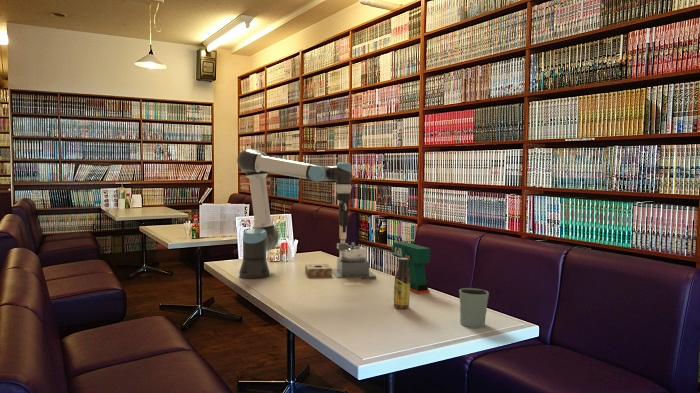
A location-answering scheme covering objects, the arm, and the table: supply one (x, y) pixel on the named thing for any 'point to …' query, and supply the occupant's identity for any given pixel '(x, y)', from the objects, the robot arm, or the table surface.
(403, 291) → the sauce bottle
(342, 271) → the stand
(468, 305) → the grey cup
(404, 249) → the power tool
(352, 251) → the chuck
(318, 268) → the wooden hole block
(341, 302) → the table surface
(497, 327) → the table surface
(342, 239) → the orange rounded rod
